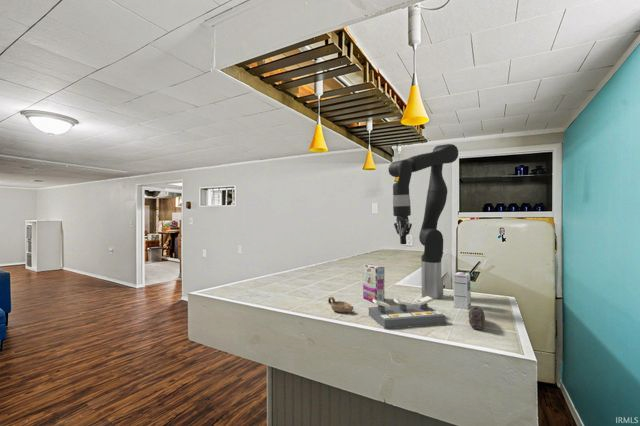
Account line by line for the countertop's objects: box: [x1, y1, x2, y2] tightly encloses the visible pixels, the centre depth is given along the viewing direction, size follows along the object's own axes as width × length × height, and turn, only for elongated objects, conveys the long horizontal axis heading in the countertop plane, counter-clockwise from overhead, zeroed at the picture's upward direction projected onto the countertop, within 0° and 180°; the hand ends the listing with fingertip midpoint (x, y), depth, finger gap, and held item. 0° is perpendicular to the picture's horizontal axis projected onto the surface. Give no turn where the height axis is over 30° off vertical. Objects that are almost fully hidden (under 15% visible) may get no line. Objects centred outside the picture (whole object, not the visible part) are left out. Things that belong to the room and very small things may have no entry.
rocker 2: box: [414, 296, 434, 306], centre depth 128 cm, size 6×4×1 cm, turn 102°
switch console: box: [368, 303, 446, 329], centre depth 124 cm, size 24×16×5 cm, turn 102°
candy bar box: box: [362, 263, 385, 303], centre depth 151 cm, size 11×5×16 cm, turn 25°
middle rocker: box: [393, 298, 413, 306], centre depth 126 cm, size 6×4×1 cm, turn 102°
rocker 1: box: [372, 299, 391, 308], centre depth 124 cm, size 6×4×1 cm, turn 102°
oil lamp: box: [327, 296, 355, 313], centre depth 135 cm, size 13×8×5 cm, turn 42°
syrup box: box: [452, 271, 472, 310], centre depth 140 cm, size 6×6×14 cm
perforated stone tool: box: [468, 305, 486, 330], centre depth 117 cm, size 15×5×7 cm, turn 154°
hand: (403, 244), depth 143 cm, fingers closed
